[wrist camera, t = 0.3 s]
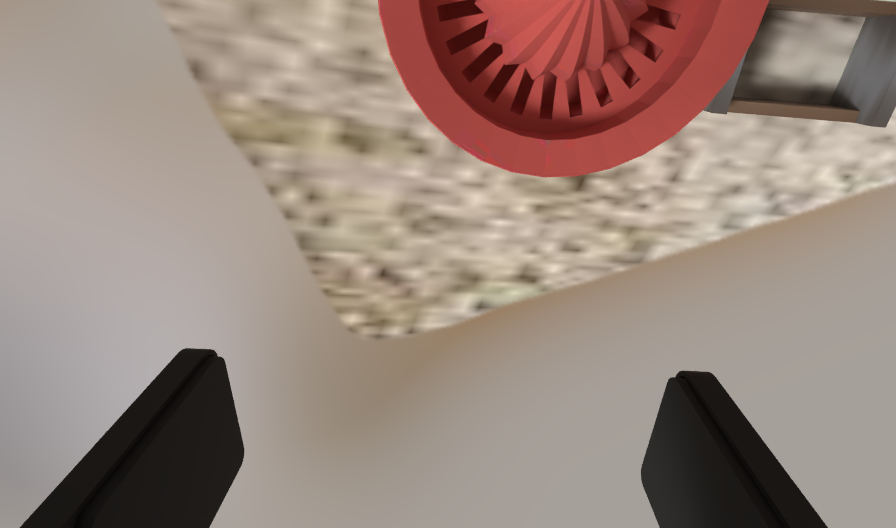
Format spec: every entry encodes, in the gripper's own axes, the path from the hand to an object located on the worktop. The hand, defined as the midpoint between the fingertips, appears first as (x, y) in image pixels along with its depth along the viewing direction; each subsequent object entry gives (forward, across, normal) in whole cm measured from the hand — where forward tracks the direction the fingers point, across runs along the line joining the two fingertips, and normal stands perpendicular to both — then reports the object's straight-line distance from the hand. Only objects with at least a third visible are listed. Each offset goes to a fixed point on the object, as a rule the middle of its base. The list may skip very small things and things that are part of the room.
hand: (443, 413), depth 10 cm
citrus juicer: (+31, -4, -10) cm, 33 cm away
